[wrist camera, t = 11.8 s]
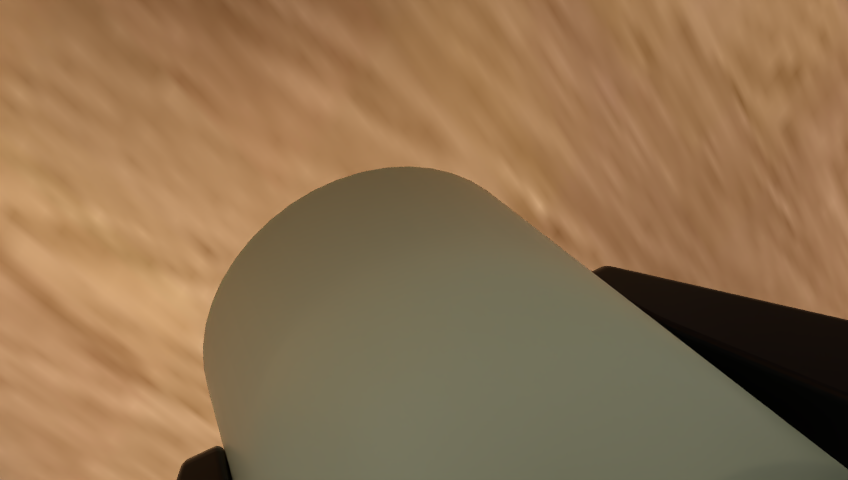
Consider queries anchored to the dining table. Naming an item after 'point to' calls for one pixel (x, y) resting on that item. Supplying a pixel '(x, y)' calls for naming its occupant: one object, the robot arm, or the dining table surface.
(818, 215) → the dining table surface
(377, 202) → the pale green cylinder
